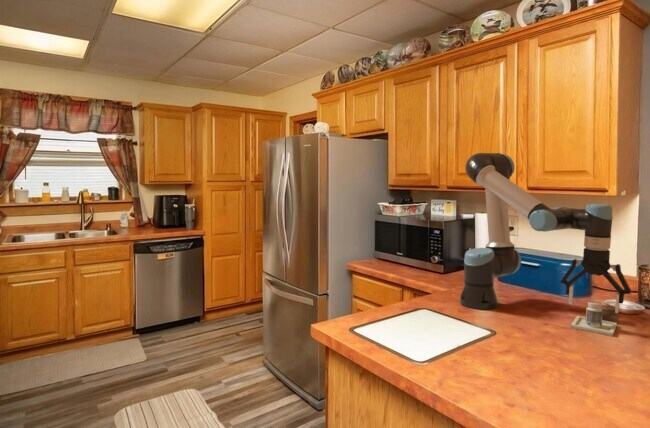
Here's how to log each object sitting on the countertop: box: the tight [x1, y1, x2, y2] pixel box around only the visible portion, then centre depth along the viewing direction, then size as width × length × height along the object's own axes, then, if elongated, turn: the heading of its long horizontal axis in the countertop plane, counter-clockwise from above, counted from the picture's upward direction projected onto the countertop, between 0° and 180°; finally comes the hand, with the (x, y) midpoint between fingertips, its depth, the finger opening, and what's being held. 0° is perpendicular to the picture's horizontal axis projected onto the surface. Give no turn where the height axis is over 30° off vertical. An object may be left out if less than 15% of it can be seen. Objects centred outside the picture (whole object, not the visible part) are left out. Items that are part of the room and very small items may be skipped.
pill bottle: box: [585, 300, 602, 328], centre depth 137 cm, size 5×5×8 cm
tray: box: [570, 315, 618, 337], centre depth 137 cm, size 12×12×1 cm
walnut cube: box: [601, 304, 620, 325], centre depth 143 cm, size 5×5×5 cm
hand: (592, 307), depth 137 cm, fingers open, 13 cm apart
